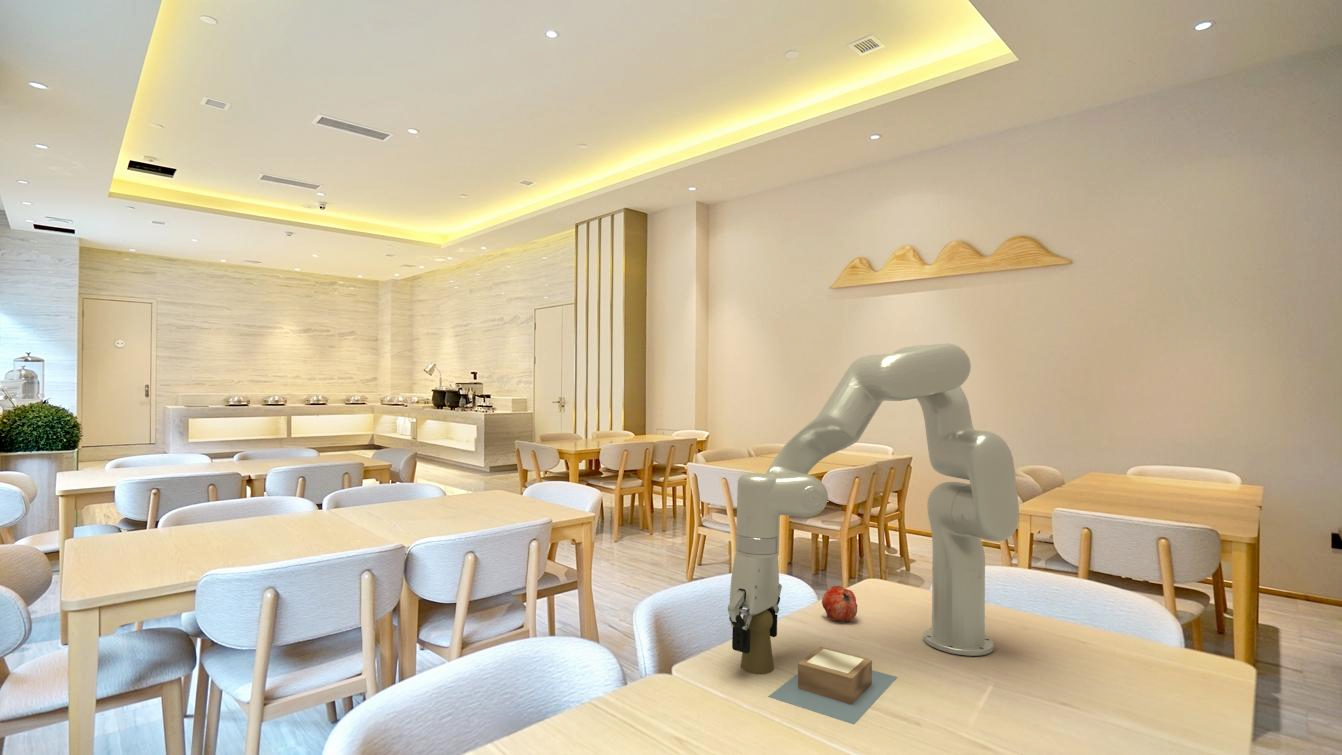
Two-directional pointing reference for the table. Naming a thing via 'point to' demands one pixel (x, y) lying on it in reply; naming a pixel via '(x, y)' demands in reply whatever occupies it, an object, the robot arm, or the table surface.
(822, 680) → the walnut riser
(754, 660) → the cork
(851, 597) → the pomegranate
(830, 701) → the board
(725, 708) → the table surface
